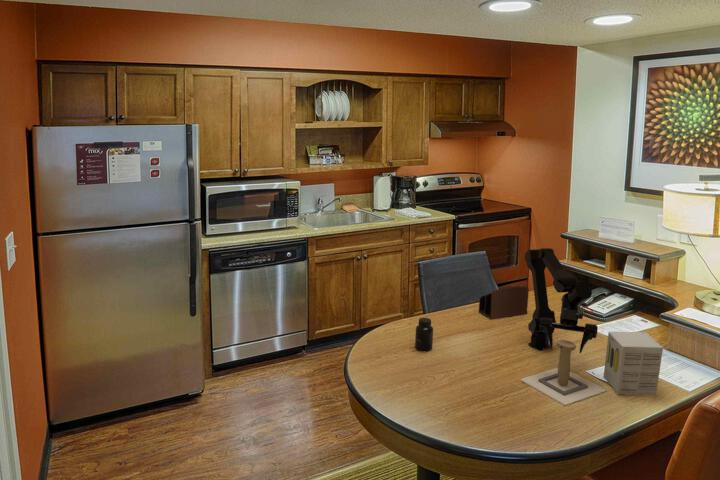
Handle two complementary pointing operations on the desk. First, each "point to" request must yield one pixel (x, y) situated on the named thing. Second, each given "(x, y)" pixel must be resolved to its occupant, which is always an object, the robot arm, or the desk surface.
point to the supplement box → (633, 363)
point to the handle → (564, 360)
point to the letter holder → (504, 302)
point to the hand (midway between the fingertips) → (565, 350)
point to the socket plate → (562, 387)
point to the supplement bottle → (424, 335)
